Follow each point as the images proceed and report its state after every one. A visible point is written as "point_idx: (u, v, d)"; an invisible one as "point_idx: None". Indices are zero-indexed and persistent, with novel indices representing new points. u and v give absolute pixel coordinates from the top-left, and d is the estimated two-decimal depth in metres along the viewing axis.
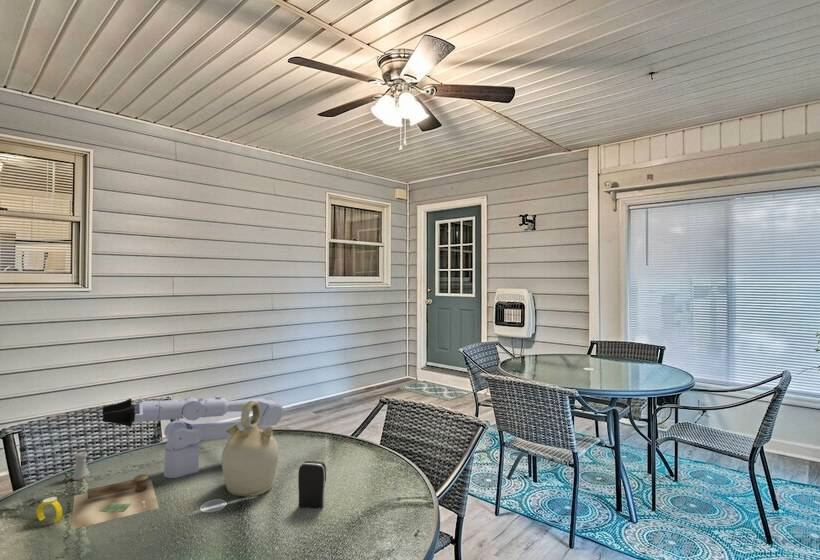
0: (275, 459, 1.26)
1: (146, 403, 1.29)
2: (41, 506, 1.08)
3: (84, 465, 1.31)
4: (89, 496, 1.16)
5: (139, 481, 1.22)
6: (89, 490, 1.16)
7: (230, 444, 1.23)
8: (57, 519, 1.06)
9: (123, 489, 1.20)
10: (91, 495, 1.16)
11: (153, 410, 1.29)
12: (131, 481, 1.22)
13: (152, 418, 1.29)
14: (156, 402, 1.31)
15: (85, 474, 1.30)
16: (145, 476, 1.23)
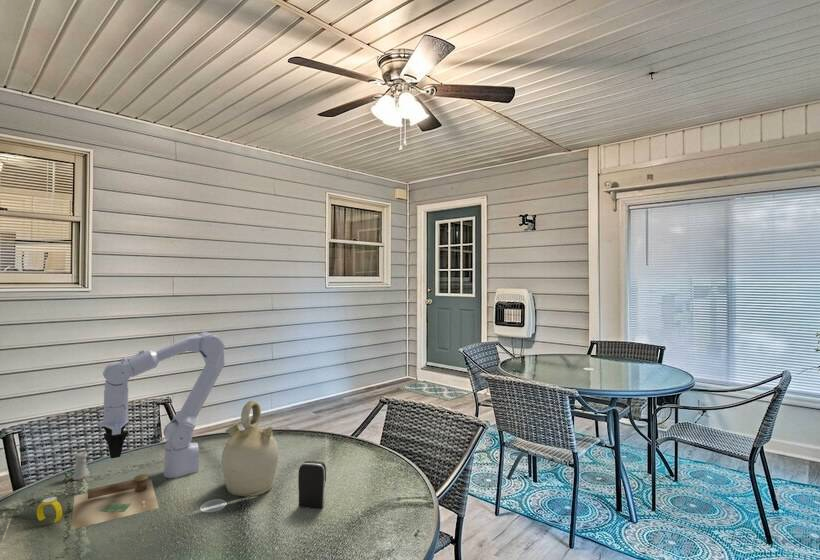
0: (275, 459, 1.26)
1: (104, 419, 1.22)
2: (41, 506, 1.08)
3: (84, 465, 1.31)
4: (89, 496, 1.16)
5: (139, 481, 1.22)
6: (89, 490, 1.16)
7: (230, 444, 1.23)
8: (57, 519, 1.06)
9: (123, 489, 1.20)
10: (91, 495, 1.16)
11: (113, 412, 1.22)
12: (131, 481, 1.22)
13: (123, 411, 1.24)
14: (104, 409, 1.23)
15: (85, 474, 1.30)
16: (145, 476, 1.23)
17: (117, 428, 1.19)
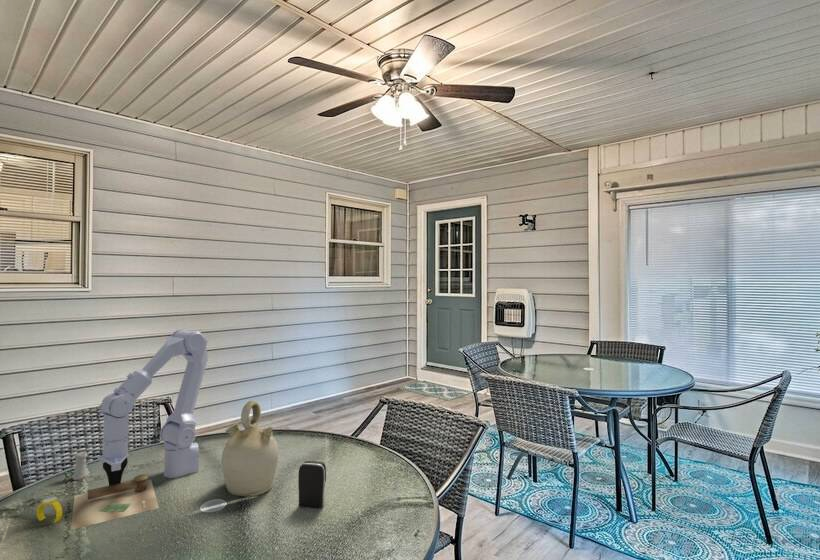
0: (275, 459, 1.26)
1: (104, 453, 1.18)
2: (41, 506, 1.08)
3: (84, 465, 1.31)
4: (89, 497, 1.15)
5: (139, 481, 1.22)
6: (89, 491, 1.16)
7: (230, 444, 1.23)
8: (57, 519, 1.06)
9: (123, 489, 1.20)
10: (91, 496, 1.16)
11: (112, 447, 1.18)
12: (131, 481, 1.22)
13: (123, 444, 1.19)
14: (103, 443, 1.18)
15: (85, 474, 1.30)
16: (146, 476, 1.23)
17: (117, 464, 1.15)
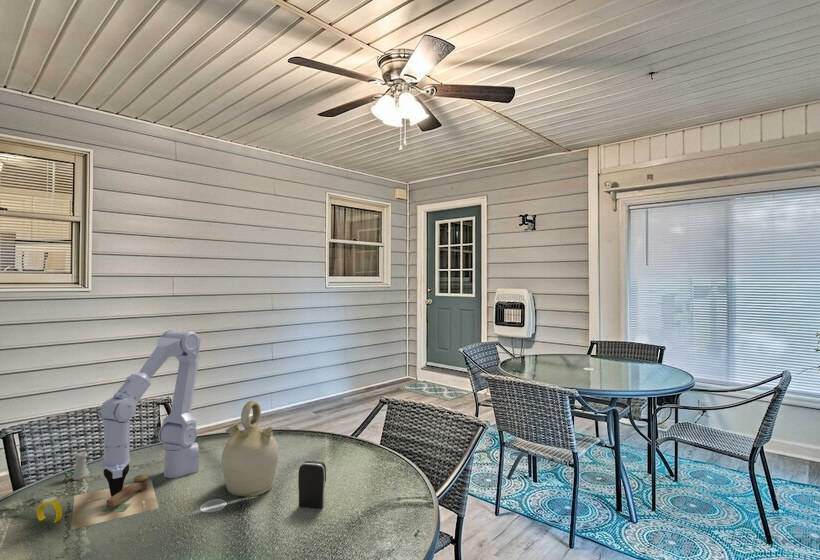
0: (275, 459, 1.26)
1: (104, 460, 1.14)
2: (41, 506, 1.08)
3: (84, 465, 1.31)
4: (114, 504, 1.11)
5: (144, 480, 1.23)
6: (111, 499, 1.12)
7: (230, 444, 1.23)
8: (57, 519, 1.06)
9: (134, 491, 1.19)
10: (115, 503, 1.12)
11: (113, 453, 1.14)
12: (135, 483, 1.21)
13: (124, 450, 1.15)
14: (104, 449, 1.14)
15: (85, 474, 1.30)
16: (146, 475, 1.24)
17: (118, 471, 1.11)
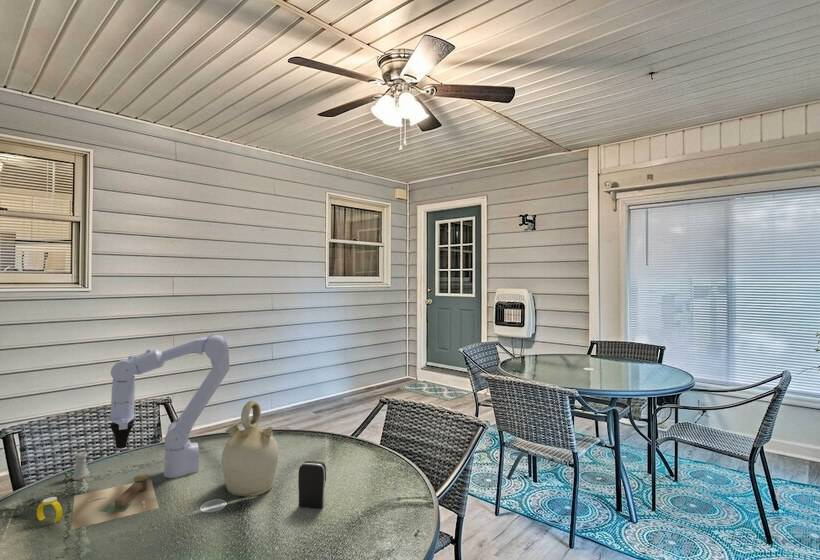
0: (275, 459, 1.26)
1: (111, 414, 1.27)
2: (41, 506, 1.08)
3: (84, 465, 1.31)
4: (123, 504, 1.12)
5: (145, 479, 1.23)
6: (119, 499, 1.12)
7: (230, 444, 1.23)
8: (57, 519, 1.06)
9: (137, 491, 1.19)
10: (124, 503, 1.12)
11: (120, 408, 1.26)
12: (136, 483, 1.21)
13: (129, 407, 1.28)
14: (112, 405, 1.27)
15: (85, 474, 1.30)
16: (145, 475, 1.24)
17: (124, 423, 1.23)
